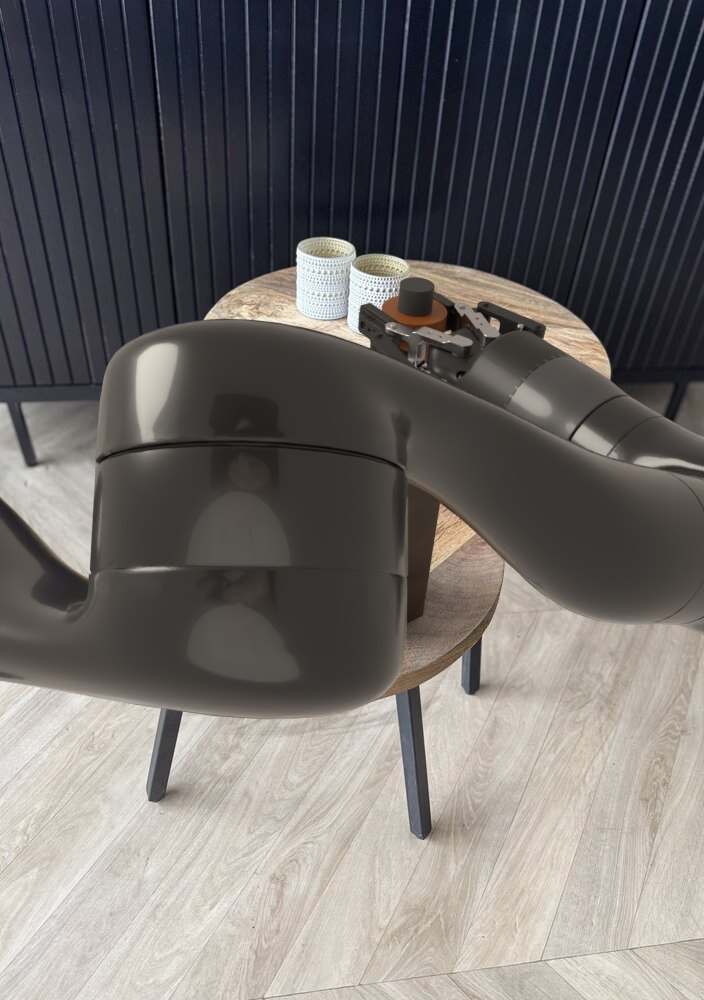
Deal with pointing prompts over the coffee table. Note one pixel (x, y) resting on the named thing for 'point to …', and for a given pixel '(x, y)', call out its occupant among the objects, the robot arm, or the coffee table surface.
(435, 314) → the amber bottle
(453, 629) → the coffee table surface
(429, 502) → the pedestal
